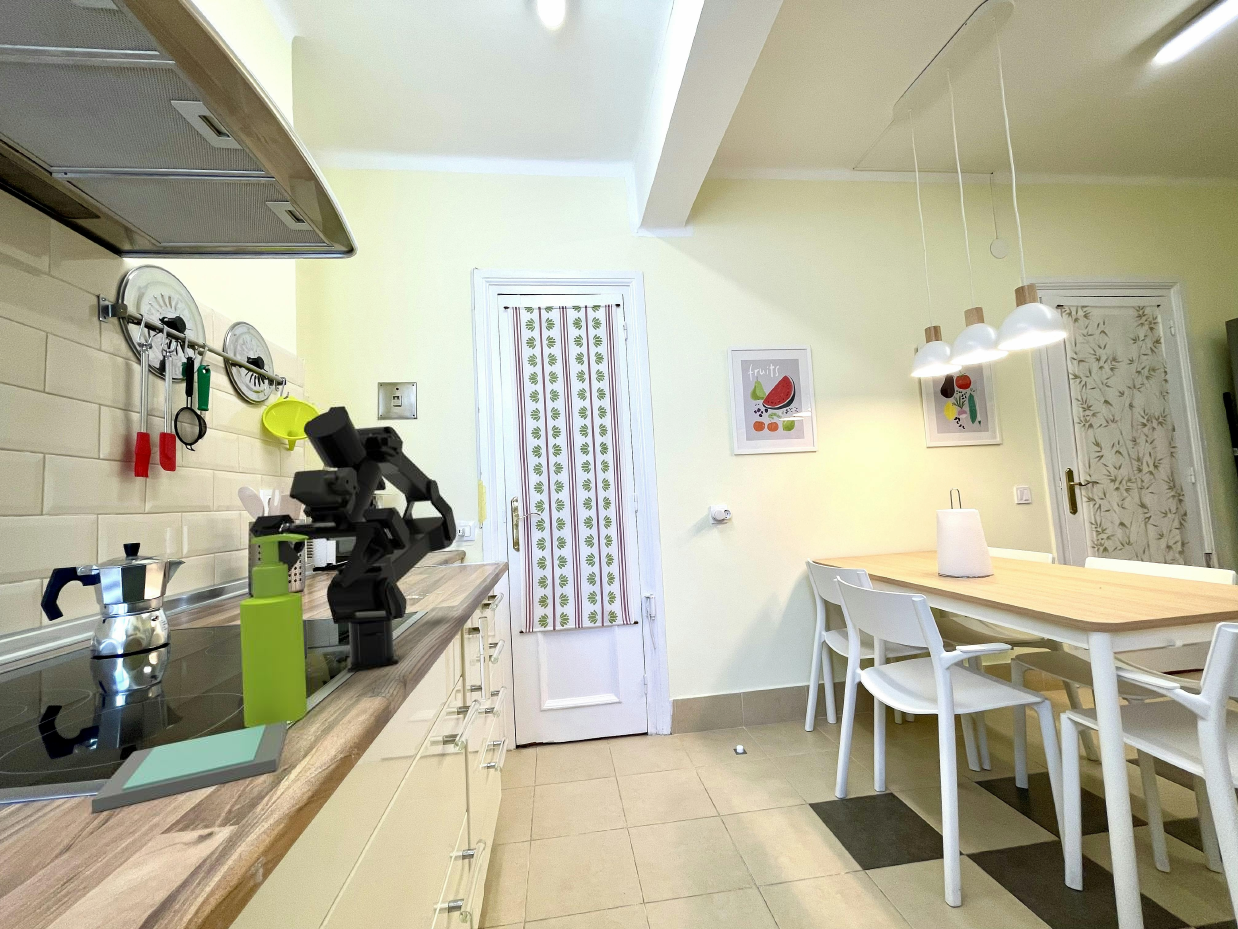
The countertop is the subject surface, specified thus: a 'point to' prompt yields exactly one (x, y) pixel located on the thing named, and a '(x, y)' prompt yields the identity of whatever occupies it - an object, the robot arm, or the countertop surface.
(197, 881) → the countertop surface
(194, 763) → the board
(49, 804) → the countertop surface
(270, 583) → the soap dispenser
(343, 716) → the countertop surface
